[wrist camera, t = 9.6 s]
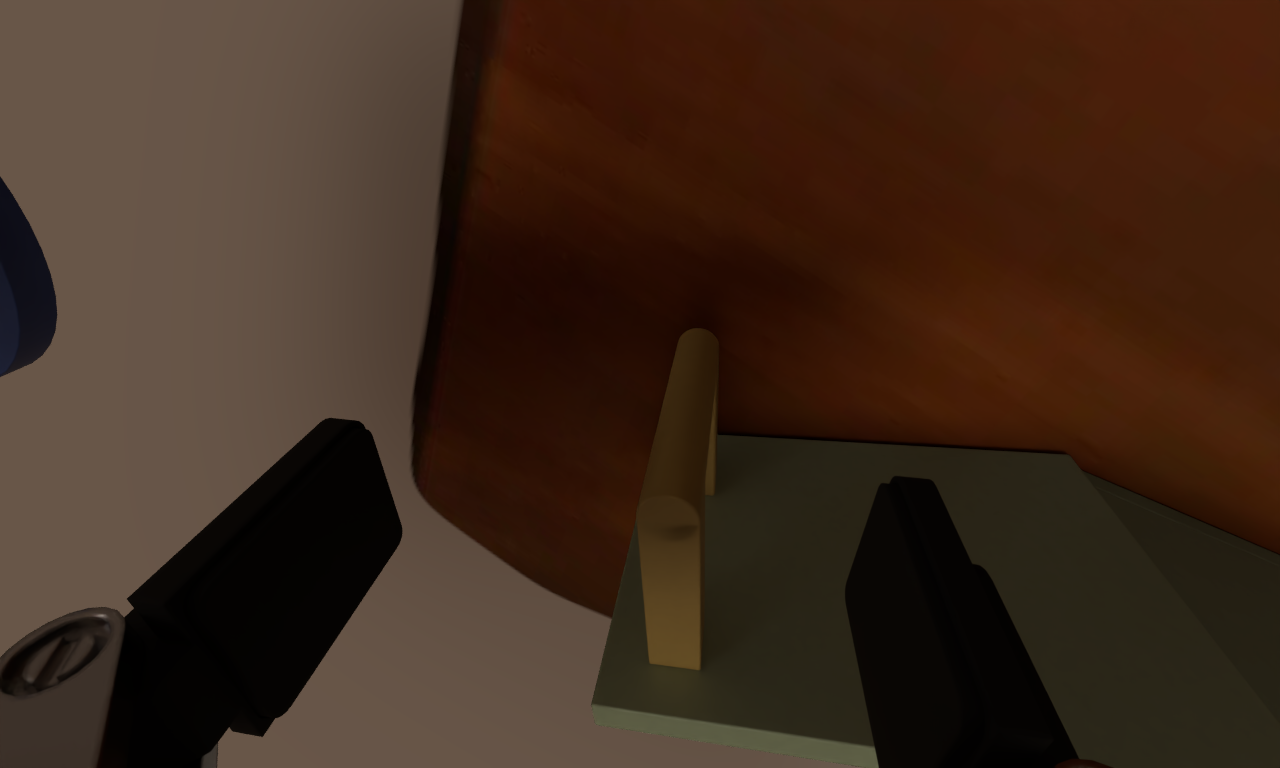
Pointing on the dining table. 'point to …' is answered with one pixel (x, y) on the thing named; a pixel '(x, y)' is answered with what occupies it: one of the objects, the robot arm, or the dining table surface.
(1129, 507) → the cupboard
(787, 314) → the dining table surface
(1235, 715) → the cupboard door
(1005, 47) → the dining table surface
